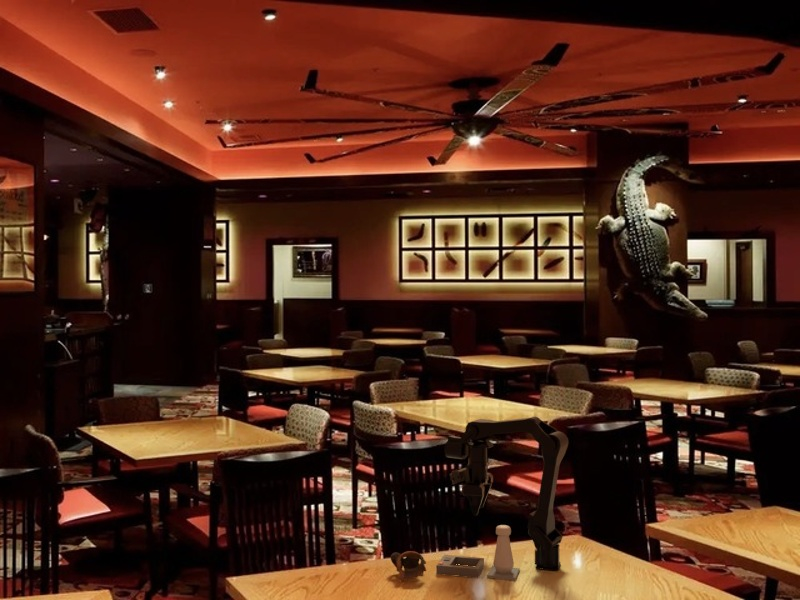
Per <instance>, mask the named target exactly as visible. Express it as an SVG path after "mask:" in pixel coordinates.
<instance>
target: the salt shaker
mask: <svg viewBox="0 0 800 600" xmlns="http://www.w3.org/2000/svg"><path fill="white" fill-rule="evenodd" d="M511 534H512V529H511V527H510V526H509V525H506V524H500V525H497V526H496V527H495V535H497V539H496V545H495V552H494V557H493V566H494V567H495V570H496V572H498V573H500V574H508V573H511V571H512V569H513V568H514V566H515V565H514V564H515V563H514V556H513V552H512V547H511V540H510V535H511Z"/></svg>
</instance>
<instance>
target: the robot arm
mask: <svg viewBox="0 0 800 600" xmlns="http://www.w3.org/2000/svg"><path fill="white" fill-rule="evenodd" d="M521 432H528V433H530V435H531V436H532V437H533V438H534V440H535V441H536V442H537V443H538V444H539V445H540V446H541V456H542V459H543V469H542V475H541V480H540V481H541V482H540V486H539V487H540V489H539V494H538V501H537V507H536V509H535V510H534V511H532V512H531V513H529V514H528V523H527V526H526V528H527V529H528V531H527V533H528V535H529V537H530V538H531V540H532V543H533V545H534V548H535V550H534V565H536V566H535V569H536V570H537V569H538V570H547V571H556V572H557V571H559V570H560V566H561V561H560V544H561V543H562V540H563V535H562V534H561V533H560V532H559V531H558V529H557V528H556V525H555V524H556V523H555V522H556V521H555V520H556V519H555V514H554V509H553V508H554V502H555V497H556V489H557V483H558V478H559V471H560V465H561V462H562V460H563V458H564V456H565V455H566V452H567V450H568V446H569V438H568V437H567V434H565V433H564V432H562V431H559V430H557V428H555V427H554V426H551V425H549V424H548V423H547V422H544V421H543V420H542V419H541V418H539V417H538V416H531V417H525V418H514V419H506V420H505V419H504V420H492V419H486V418H478V419H475V420H472V421H469V422H468V423H467V424H466V426H465V430H464V432H463V433H462V435H461V436H455V435H448V436H447V440H446V443H445V446H444V451H443V452H444V455H445V457H446V458H450V459H451V458H452V459H456V460H457V459H459V460H465V459H468V463H467V465H466V466H465V467H463V468H460V469H455V470H452V471H451V473H449V480H450V481H451V482H452V485H457V484H458V483H460V482H465V484H464V485H463V486H462V487H461V494H462V495H463V496H464V497H466V498H467V499H468V501H469V504H470V509H471V512H472V515H473V516H475V517H477V516H478V514H479V512H480V511H479V510H480V508H484V505H485V502H486V499H487V497H488V495H489V492H490V490H491V488H492V485H493V483H494V475H493V474H492V473H491V472H488V467H489V463H488V449H491V448H492V447H494V446H495V445H494V443H492V442H491V440H490V439H489V438H487V437H490V436H493V435H500V434H512V433H521ZM484 438H486V439H484ZM481 439H484V440H481ZM471 441H474V442H471Z"/></svg>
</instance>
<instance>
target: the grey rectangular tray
mask: <svg viewBox="0 0 800 600" xmlns="http://www.w3.org/2000/svg"><path fill="white" fill-rule="evenodd" d="M456 564H457V565H456ZM458 564H460V565H468V566H476V567H468V566H458ZM455 565H456V566H455ZM483 567H484V568H485V557H473V556H464V555H463V556H462V555H452V554H451V555H450V554H443V556H441V558H440V559H439V561H438V562H437V563H436V567H435V568H436V571H435V573H436V575H442V574H443V575H444V574H445V575H444V576H452V575H459V576H458V577H462V576H467V577H466V578H472V577H477V578H476V579H478V578H479V577H480V575H481V573H482V571H483V570H484V568H483ZM482 569H483V570H482ZM479 574H480V575H479ZM443 575H442V576H443ZM478 576H479V577H478Z"/></svg>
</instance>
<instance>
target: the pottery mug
mask: <svg viewBox="0 0 800 600" xmlns="http://www.w3.org/2000/svg"><path fill="white" fill-rule="evenodd" d="M390 561H391V563H392V564H393V565H394V566H395V568H396V572H397V573H398V576H397V578H398V581H400V582H401V583H403V582H404V580H405V581H406V580H411V579H415V578H418V577H419V576H421V575H422V574H424V572H427V568H426V566H425V565H426V564H427V561H426V560H425V559H424V556H423V555H422V554H421V553H419V552H417V551H414V550H412V551H411V550H407V551H405V552H402V553H400V552H393V553H392V554H391V555H390Z"/></svg>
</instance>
